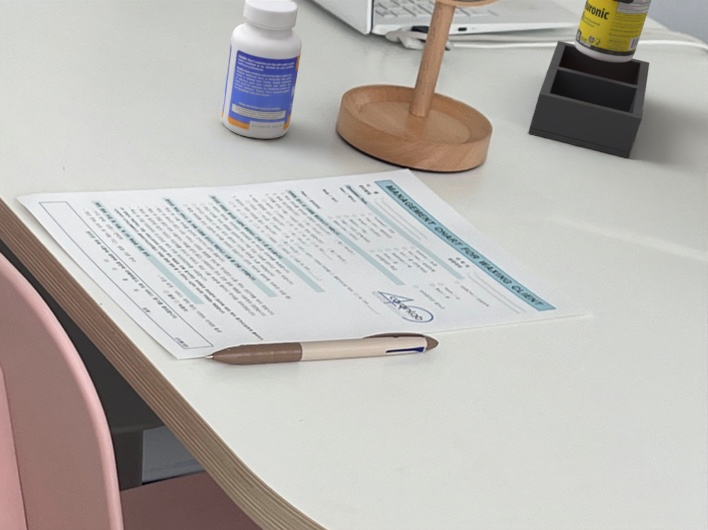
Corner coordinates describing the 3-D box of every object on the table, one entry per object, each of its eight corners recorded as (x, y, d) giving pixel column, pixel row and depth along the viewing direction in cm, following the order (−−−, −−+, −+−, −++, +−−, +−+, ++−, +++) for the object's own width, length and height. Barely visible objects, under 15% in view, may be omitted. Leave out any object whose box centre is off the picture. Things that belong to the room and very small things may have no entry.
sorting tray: (547, 76, 124) (558, 40, 122) (637, 98, 123) (649, 62, 121) (528, 133, 111) (539, 93, 109) (628, 158, 109) (641, 118, 107)
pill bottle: (299, 139, 102) (321, 14, 96) (238, 142, 100) (257, 15, 94) (268, 111, 106) (287, -10, 100) (208, 114, 103) (225, -10, 98)
